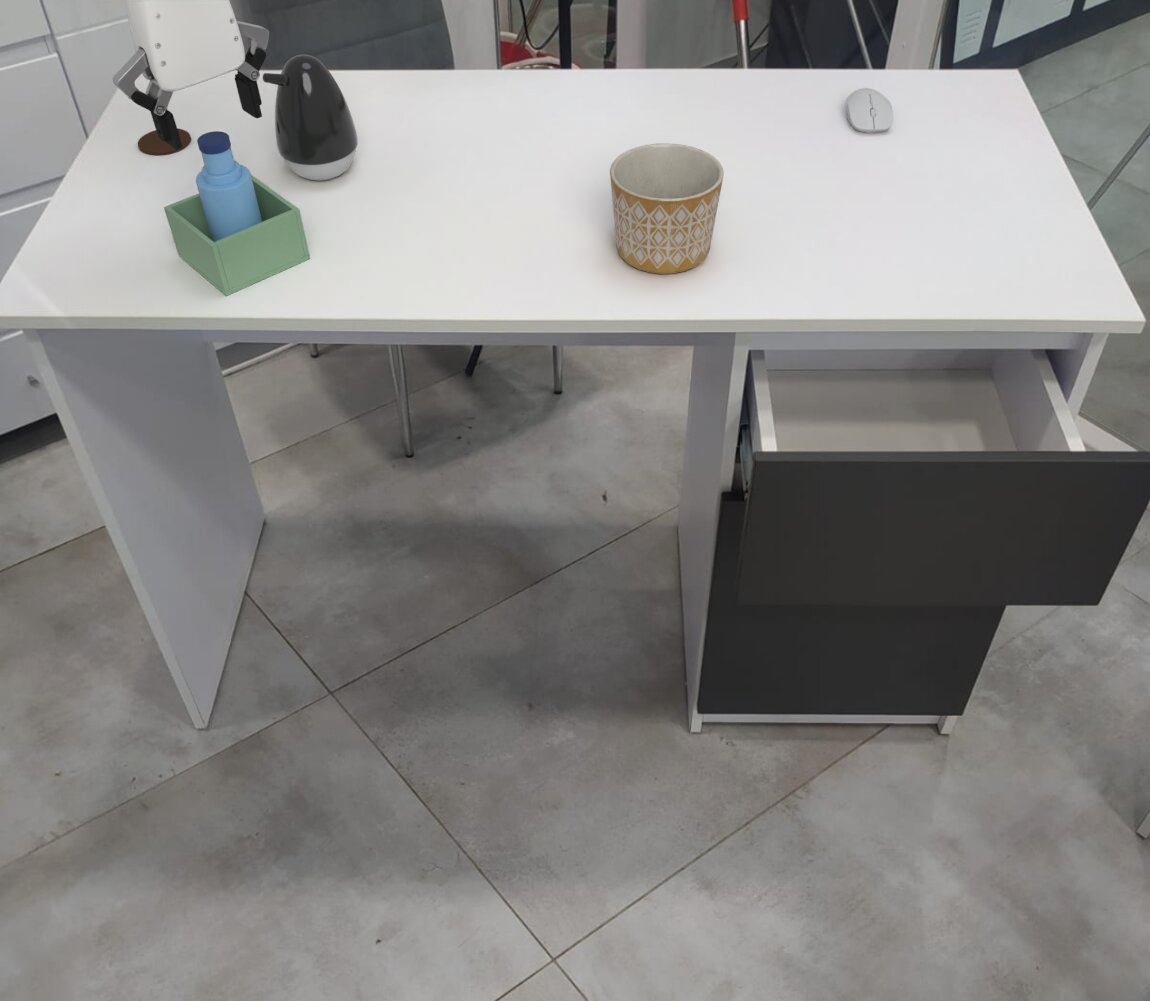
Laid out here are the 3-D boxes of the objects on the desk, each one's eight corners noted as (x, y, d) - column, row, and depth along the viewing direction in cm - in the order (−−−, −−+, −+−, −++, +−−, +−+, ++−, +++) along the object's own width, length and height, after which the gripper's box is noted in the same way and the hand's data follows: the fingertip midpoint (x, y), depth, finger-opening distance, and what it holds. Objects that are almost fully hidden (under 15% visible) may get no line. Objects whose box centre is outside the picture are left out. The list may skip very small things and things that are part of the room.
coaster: (153, 160, 148) (152, 157, 148) (129, 142, 152) (128, 139, 152) (200, 143, 152) (199, 140, 151) (175, 125, 155) (175, 122, 155)
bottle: (233, 273, 128) (201, 157, 118) (207, 252, 132) (174, 138, 121) (278, 253, 131) (251, 138, 121) (252, 233, 134) (223, 120, 124)
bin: (226, 296, 126) (211, 246, 122) (178, 256, 132) (163, 206, 127) (310, 258, 131) (299, 208, 127) (261, 221, 137) (249, 173, 133)
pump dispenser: (269, 167, 147) (243, 53, 136) (339, 144, 151) (319, 32, 140) (303, 199, 141) (279, 83, 130) (376, 174, 145) (358, 59, 134)
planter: (618, 218, 137) (619, 138, 129) (721, 227, 135) (728, 147, 127) (600, 276, 128) (600, 194, 120) (710, 286, 126) (717, 204, 119)
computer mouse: (850, 136, 150) (854, 114, 148) (840, 102, 157) (843, 81, 155) (895, 135, 150) (899, 114, 148) (882, 102, 157) (886, 81, 155)
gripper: (227, -69, 114) (265, 91, 126) (67, -22, 106) (124, 144, 118) (265, -50, 110) (300, 113, 122) (101, 0, 102) (156, 170, 115)
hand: (213, 128), depth 120 cm, fingers open, 9 cm apart
